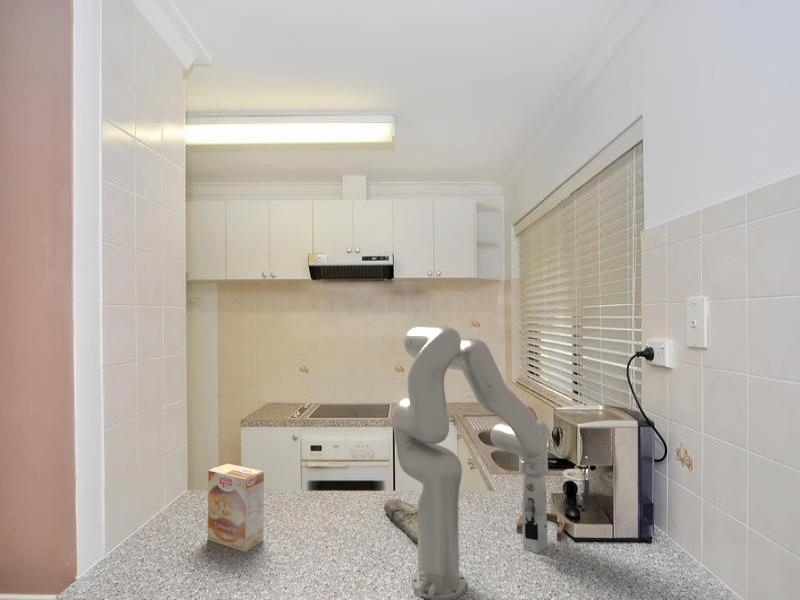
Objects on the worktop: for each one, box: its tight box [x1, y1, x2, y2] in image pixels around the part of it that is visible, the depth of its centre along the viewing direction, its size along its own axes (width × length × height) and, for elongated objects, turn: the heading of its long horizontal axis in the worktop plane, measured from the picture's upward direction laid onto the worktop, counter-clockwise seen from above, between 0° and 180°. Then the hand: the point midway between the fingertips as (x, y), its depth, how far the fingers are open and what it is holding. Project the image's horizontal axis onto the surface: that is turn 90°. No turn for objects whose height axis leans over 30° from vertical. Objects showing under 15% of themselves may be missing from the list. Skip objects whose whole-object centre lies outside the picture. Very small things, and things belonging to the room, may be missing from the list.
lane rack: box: [516, 512, 565, 542], centre depth 130 cm, size 12×12×2 cm
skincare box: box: [521, 501, 549, 554], centre depth 120 cm, size 6×4×12 cm
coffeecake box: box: [207, 463, 265, 553], centre depth 124 cm, size 15×7×20 cm, turn 62°
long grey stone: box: [383, 498, 418, 544], centre depth 130 cm, size 35×5×10 cm
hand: (534, 530), depth 119 cm, fingers open, 9 cm apart
